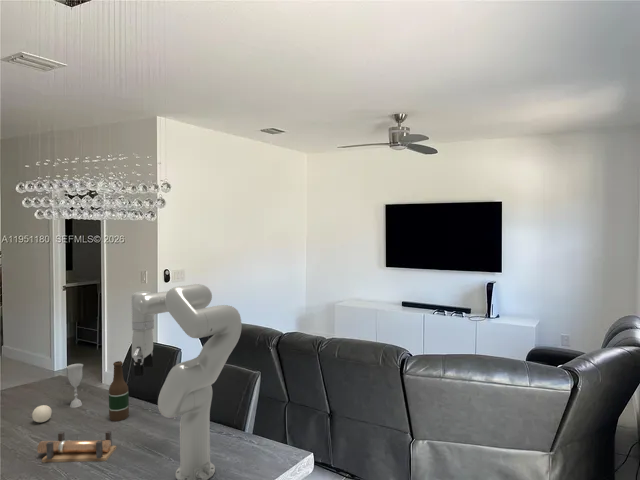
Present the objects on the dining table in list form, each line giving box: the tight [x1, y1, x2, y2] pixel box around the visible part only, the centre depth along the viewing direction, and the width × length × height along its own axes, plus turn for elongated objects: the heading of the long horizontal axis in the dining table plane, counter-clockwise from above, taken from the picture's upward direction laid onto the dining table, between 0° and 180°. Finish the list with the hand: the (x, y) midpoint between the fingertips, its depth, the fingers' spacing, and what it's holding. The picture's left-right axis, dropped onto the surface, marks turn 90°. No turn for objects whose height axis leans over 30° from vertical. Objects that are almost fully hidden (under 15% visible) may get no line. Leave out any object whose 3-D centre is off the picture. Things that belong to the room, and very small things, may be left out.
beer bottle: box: [108, 360, 130, 422], centre depth 195 cm, size 8×8×24 cm
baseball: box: [31, 404, 53, 423], centre depth 192 cm, size 7×7×7 cm
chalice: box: [66, 363, 84, 408], centre depth 209 cm, size 7×7×18 cm
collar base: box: [41, 430, 117, 463], centre depth 165 cm, size 22×9×6 cm, turn 92°
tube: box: [36, 439, 111, 454], centre depth 165 cm, size 24×4×4 cm, turn 92°
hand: (144, 371), depth 170 cm, fingers open, 9 cm apart
